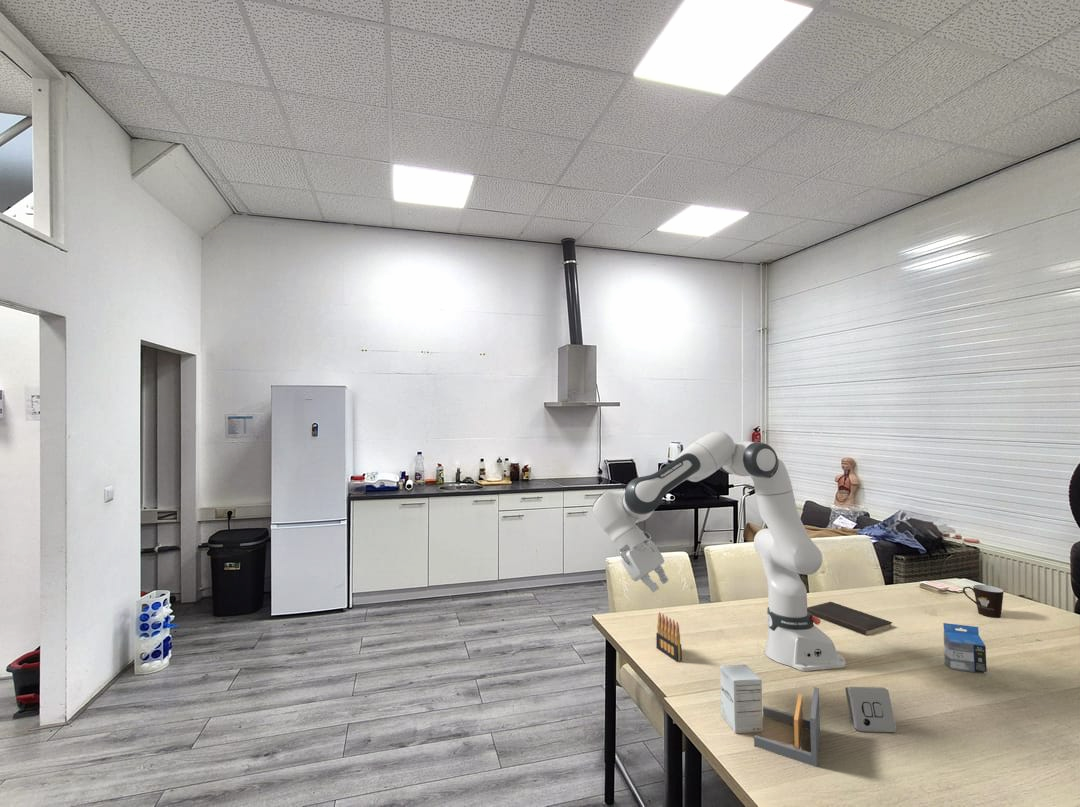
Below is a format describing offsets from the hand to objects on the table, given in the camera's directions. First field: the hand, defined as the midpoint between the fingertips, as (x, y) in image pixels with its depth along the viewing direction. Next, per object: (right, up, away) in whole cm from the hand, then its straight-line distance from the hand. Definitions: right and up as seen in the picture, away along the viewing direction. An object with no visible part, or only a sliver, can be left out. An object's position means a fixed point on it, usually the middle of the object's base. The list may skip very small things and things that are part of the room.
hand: (661, 586), depth 132 cm
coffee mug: (+140, -31, +53) cm, 153 cm away
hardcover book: (+83, -32, +48) cm, 101 cm away
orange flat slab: (+27, -27, -21) cm, 44 cm away
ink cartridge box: (+95, -29, +11) cm, 100 cm away
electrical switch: (+47, -29, -15) cm, 57 cm away
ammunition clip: (+8, -31, +22) cm, 39 cm away
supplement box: (+16, -29, -14) cm, 36 cm away
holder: (+25, -28, -20) cm, 42 cm away
